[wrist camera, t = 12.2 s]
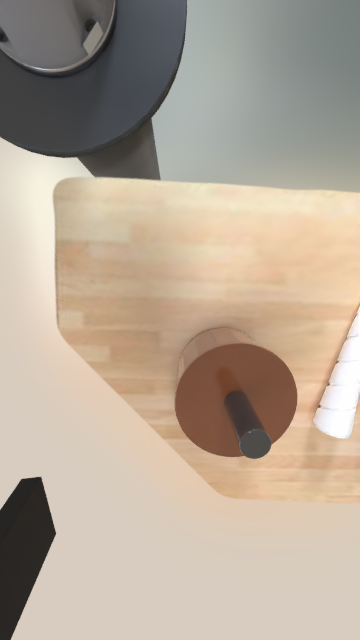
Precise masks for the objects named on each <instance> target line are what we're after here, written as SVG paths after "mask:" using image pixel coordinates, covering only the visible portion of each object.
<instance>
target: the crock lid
mask: <svg viewBox="0 0 360 640" xmlns="http://www.w3.org/2000/svg"><path fill="white" fill-rule="evenodd" d="M296 405H297V389H296V385H295V381H294V378H293V376H292V374H291V372H290V370H289V368H288V367H287V366H286V365H285V363H284V362H283V361H282V360H281V359H280V358H279V357H278V356H277V355H275V354H274V353H272V352H271V351H270V350H268V349H266V348H264V347H262V346H259V345H256V344H252V343H247V342H229V343H223V344H220V345H217V346H214V347H212V348H209V349H207V350H206V351H204V352H202V353H201V354H199V355H198V356H197V357H196V358H194V359H193V360H192V361H191V362H190V363H189V364H188V366H187V367H186V368H185V370H184V371H183V373H182V375H181V377H180V379H179V381H178V384H177V388H176V392H175V411H176V416H177V419H178V422H179V424H180V426H181V428H182V430H183V431H184V433H185V434H186V436H187V437H188V438H189V439H190V440H191V441H192V442H193V443H194V444H196V445H197V446H198V447H200V448H202V449H203V450H205V451H207V452H210V453H212V454H216V455H220V456H226V457H240V456H246V457H248V458H252V459H257V458H261V457H263V456H265V455H266V454H267V453H268V452H269V450H270V448H271V445H272V444H273V443H274V442H276V441H277V440H278V439H279V438H280V437H281V436H282V435H283V434H284V432H285V431H286V430H287V428H288V427H289V425H290V423H291V421H292V419H293V417H294V414H295V411H296Z"/></svg>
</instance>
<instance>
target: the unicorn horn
mask: <svg viewBox="0 0 360 640" xmlns="http://www.w3.org/2000/svg"><path fill="white" fill-rule="evenodd" d="M346 338H347V340H346V341H345V342H344V345H343V347H342V350H341V352H340V354H339V357H338V359H337V361H338V363H337V364H335V367H334V369H333V372H332V374H331V377H330V379H329V382H328V383H329V386H327V387H326V389H325V392H324V394H323V397H322V399H321V401H320V404H319V405H321V406H320V408H318V409H317V411H316V414H315V416H314V419H313V422H314V425H315V426H316V427H317V428H318V429H319V430H321V431H322V432H324V433H326V434H328V435H331V436H333V437H336V438H341V439H346V438H348V437H350V435H351V433H352V428H353V422H354V417H355V412H356V408H355V407H356V406H357V402H358V397H359V393H360V307H359V309H358V311H357V316H356V317H355V319H354V321H353V323H352V326H351V328H350V330H349V333H348V335H347V337H346Z"/></svg>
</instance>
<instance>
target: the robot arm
mask: <svg viewBox="0 0 360 640" xmlns="http://www.w3.org/2000/svg"><path fill="white" fill-rule="evenodd" d="M117 9H118V0H0V49H1V51H2V52H3V53H4V54H5V55H6V56H7V57H8V58H9V59H10V60H11V61H12V62H14V63H15V64H16V65H18V66H19V67H21V68H22V69H24V70H26V71H28V72H30V73H32V74H35V75H38V76H42V77H47V78H64V77H69V76H73V75H75V74H78V73H80V72H82V71H84V70H86V69H87V68H88V67H90V66H91V65H92V64H93V63H95V62H96V61H97V60H98V58H99V57H100V56H101V55H102V54H103V52H104V51H105V49H106V47H107V46H108V44H109V42H110V40H111V37H112V34H113V32H114V28H115V24H116V19H117ZM55 535H56V532H55V528H54V524H53V520H52V516H51V513H50V509H49V505H48V502H47V497H46V494H45V490H44V486H43V482H42V479H41V477H35V478H27V479H21V481H20V482H19V484H18V485H17V487H16V488H15V490H14V491H13V493H12V494H11V495H10V497H9V498H8V500H7V501H6V503H5V504H4V506H3V507H2V508H1V510H0V640H11V637H12V635H13V633H14V630H15V628H16V626H17V623H18V621H19V619H20V616H21V614H22V612H23V609H24V607H25V605H26V602H27V600H28V597H29V595H30V593H31V591H32V588H33V586H34V584H35V582H36V579H37V577H38V575H39V572H40V570H41V568H42V565H43V563H44V561H45V558H46V556H47V553H48V551H49V549H50V546H51V544H52V542H53V539H54V537H55Z"/></svg>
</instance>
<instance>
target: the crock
mask: <svg viewBox="0 0 360 640" xmlns="http://www.w3.org/2000/svg"><path fill="white" fill-rule="evenodd" d="M229 342H247V343H252V344H256V345H258V344H257V343H256V342H255V341H254V340H252V339H251V338H250V337H249V336H248V335H246V334H245V333H244V332H241V331H238V330H235V329H231V328H214V329H210V330H207V331H205V332H202V333H200V334H199V335H197V336H196V337H195V338H193V339H192V340H191V341H190V342H189V343H188V345H187V346H186V347H185V349H184V350H183V352H182V355H181V357H180V361H179V365H178V381H179V379H180V377H181V375H182V373H183V371H184V370H185V368H186V367H187V366H188V364H189V363H190V362H191V361H192V360H193V359H194V358H196V357H197V356H198V355H199V354H201V353H202V352H204V351H206V350H207V349H209V348H212V347H214V346H217V345H220V344H223V343H229Z"/></svg>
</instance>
